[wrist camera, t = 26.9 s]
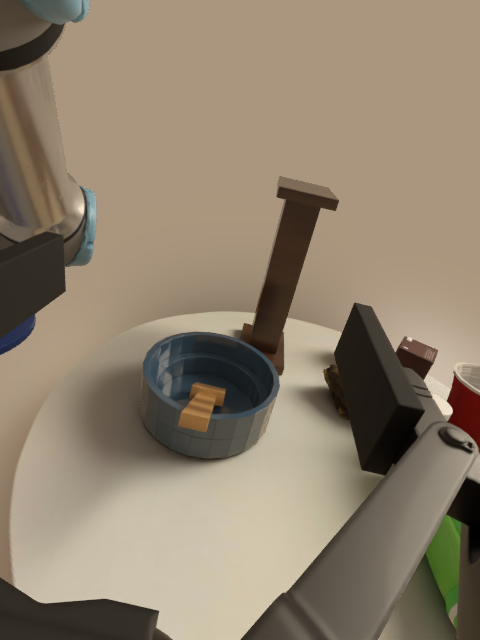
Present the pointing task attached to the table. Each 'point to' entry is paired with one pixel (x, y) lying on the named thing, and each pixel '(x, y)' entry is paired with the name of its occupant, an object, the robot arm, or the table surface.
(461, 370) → the plastic cup
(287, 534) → the table surface
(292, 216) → the spoon stand
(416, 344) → the box
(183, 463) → the table surface
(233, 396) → the bowl
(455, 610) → the speaker
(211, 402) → the wooden mallet
